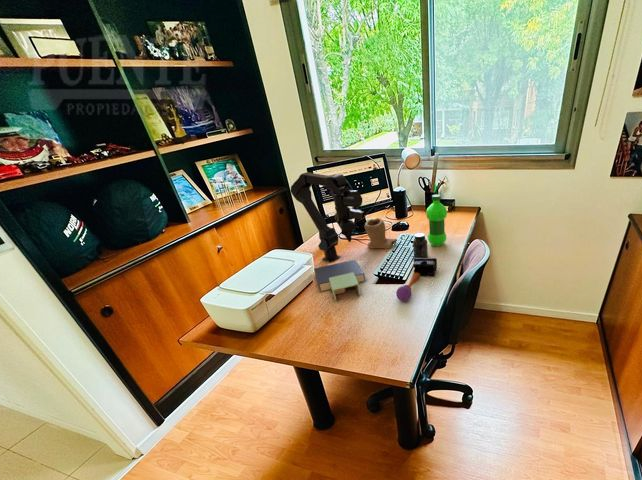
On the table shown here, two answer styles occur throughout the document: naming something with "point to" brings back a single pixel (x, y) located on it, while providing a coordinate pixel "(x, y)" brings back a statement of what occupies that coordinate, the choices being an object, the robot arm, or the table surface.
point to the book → (337, 273)
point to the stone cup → (378, 234)
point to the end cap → (425, 266)
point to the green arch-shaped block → (343, 282)
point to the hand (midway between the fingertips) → (347, 238)
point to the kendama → (407, 288)
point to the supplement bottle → (420, 246)
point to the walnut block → (350, 288)
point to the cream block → (339, 291)
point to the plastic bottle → (436, 221)
